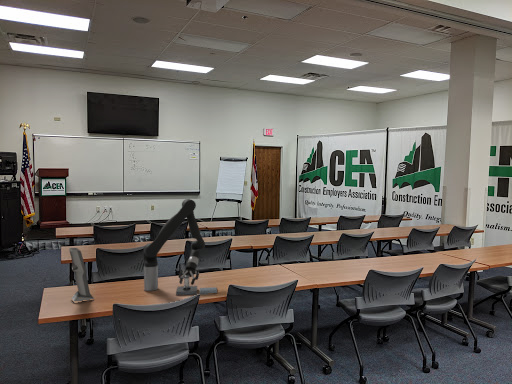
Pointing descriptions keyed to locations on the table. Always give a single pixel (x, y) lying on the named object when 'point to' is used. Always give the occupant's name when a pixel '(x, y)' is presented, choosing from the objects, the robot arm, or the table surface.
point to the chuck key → (186, 282)
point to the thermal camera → (80, 276)
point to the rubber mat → (208, 290)
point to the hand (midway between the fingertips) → (186, 284)
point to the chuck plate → (181, 290)
